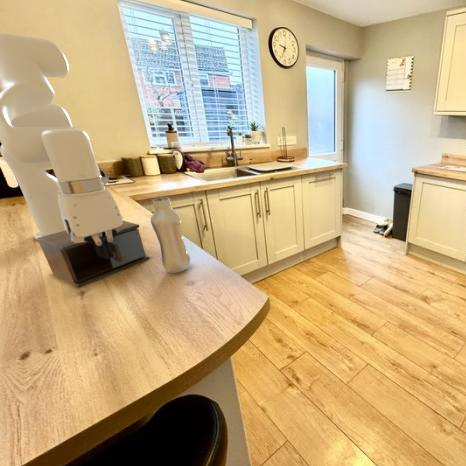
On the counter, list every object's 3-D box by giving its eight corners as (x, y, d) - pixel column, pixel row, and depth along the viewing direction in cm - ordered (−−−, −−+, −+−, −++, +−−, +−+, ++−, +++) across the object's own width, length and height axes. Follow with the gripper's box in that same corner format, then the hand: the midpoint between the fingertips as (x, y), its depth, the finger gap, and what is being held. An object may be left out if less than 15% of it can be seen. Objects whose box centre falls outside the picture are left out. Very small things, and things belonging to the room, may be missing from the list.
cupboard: (53, 274, 75) (36, 237, 71) (123, 249, 90) (113, 217, 86) (78, 287, 70) (62, 247, 66) (149, 258, 85) (139, 224, 80)
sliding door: (112, 267, 77) (102, 239, 74) (144, 255, 84) (136, 228, 81) (119, 270, 76) (110, 241, 73) (151, 257, 83) (144, 230, 80)
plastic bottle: (197, 266, 81) (182, 197, 73) (177, 277, 75) (158, 204, 67) (180, 262, 83) (163, 194, 75) (158, 273, 77) (138, 201, 69)
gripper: (110, 178, 74) (130, 243, 81) (31, 191, 61) (62, 266, 68) (127, 181, 71) (146, 248, 78) (48, 195, 58) (79, 273, 65)
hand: (107, 256), depth 73 cm, fingers closed
